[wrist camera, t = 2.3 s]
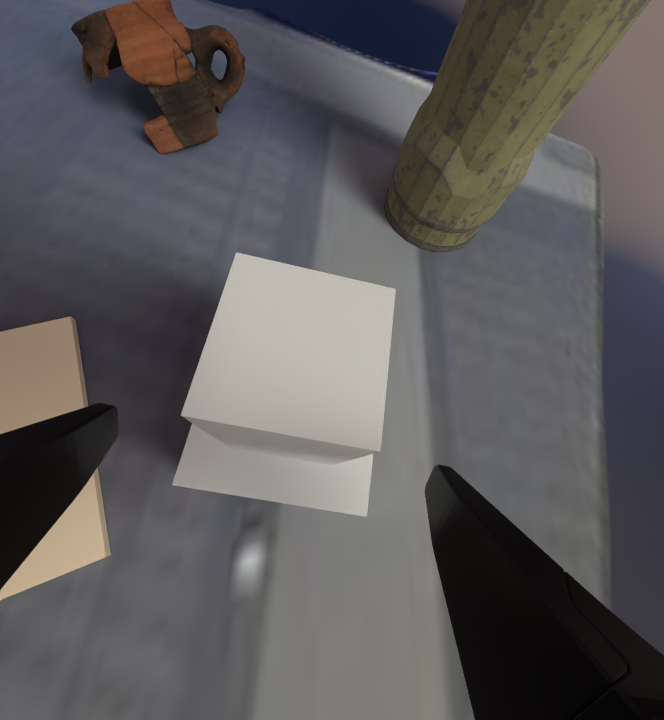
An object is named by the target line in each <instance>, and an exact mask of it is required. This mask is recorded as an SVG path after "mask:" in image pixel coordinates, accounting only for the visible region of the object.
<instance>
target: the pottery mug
mask: <svg viewBox="0 0 664 720" xmlns="http://www.w3.org/2000/svg"><path fill="white" fill-rule="evenodd" d="M71 30H72V31H73V33H74V34H75V35H76V36H77V38H78V39H79V41H80V43H81V45H82V46H83V57H82V60H83V69H84V72H85V77H86V81H87V82H88V83H91V82H92V71H93V73H94V74H95V75H96V76H97V77H100V78H103V79H107V78H109V70H112V69H114V68H116V67H119V66H123V69H124V71H126V72H127V74H128V75H129V76H130V78H132V79H133V80H134V81H135V82H138V83H140V84H145V85H146V86H147V89H148V91H149V92H150V93H151V95H152V96H153V97H154V99H155V101H156V102H157V104H158V105H159V107H160V108H161V110H162V112H163V114H162V115H160V116H159V117H158V118H155V119H153V120H151V121H148V122H144V123H143V129H144V131H145V133H146V134H147V136H148V137H149V138H150V139H151V141H152V143H153V145H154V146H155V148H156V149H157V151H158V152H159V153H160V154H163V153H170V152H173V151H177V150H179V149H183V148H186V147H189V146H192V145H198V144H200V143H203V142H206V141H207V140H210V139H211V138H213V137H214V136H216V135H217V134H218V130H217V124H216V113H215V111H216V112H218V113H221V112H222V109H223V105H224V104H225V102H226V101H227V100H229V99H230V98H231V97H233V96H234V95H235V94H236V93H237V92H238V90H239V88H240V86H241V84H242V80H243V77H244V73H245V65H244V62H245V57H244V56H243V55H242V54H241V52H240V50H239V48H238V42H237V40H236V39H235V38H234V36H233V35H232V34H231V33H230V32H229V31H228V30H226V29H225V28H222V27H220V26H214V25H210V26H206V27H202V28H200V29H189V28H186V27H185V26H184V24H183V23H181V22H179V21H178V20H177V19H176V16H175V14H174V11H173V8H172V4H171V2H170V0H135V1H133V2H132V3H124V4H121V5H117V6H114V7H112V8H108V9H107V10H101V11H98V12H95V13H93V14H90V15H88V16H86V17H84V18H82V19H80V20H79V21H77V22H76V23H74V24H73V26H72V28H71ZM217 50H221V51H222V52H223V53H224V54H225V55H226V58H227V67H226V71H225V74H224V77H223V79H221V80H219V79H217V78H216V77H215V75H214V73H213V72H212V70H211V63H212V59H213V55H214V53H215V51H217ZM190 52H192V53H193V55H194V57H195V60H196V63H195V68H196V69H195V68H194V66H193V65H192V63H191V61H190V60H189V58H188V57H187V56H186V55H187V54H190Z"/></svg>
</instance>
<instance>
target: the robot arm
mask: <svg viewBox="0 0 664 720" xmlns="http://www.w3.org/2000/svg"><path fill="white" fill-rule="evenodd" d="M118 432H119V428H118V412H117V408H116V407H115V406H113V405H108V404H103V403H97V404H94V405H91V406H88V407H84V408H81V409H78V410H75V411H72V412H69V413H65V414H62V415H59V416H56V417H53V418H50V419H46V420H43V421H40V422H37V423H34V424H31V425H27V426H24V427H21V428H18V429H15V430H12V431H8V432H5V433H2V434H0V590H1V589H2V588H3V586H4V585H5V584H6V583H7V581H8V580H9V579H10V578H11V577H12V575H13V574H14V573H15V572H16V570H17V569H18V568H19V567H20V566H21V564H22V563H23V562H24V561H25V559H26V558H27V557H28V556H29V555H30V553H31V552H32V551H33V550H34V548H35V547H36V546H37V545H38V544H39V542H40V541H41V540H42V539H43V537H44V536H45V535H46V534H47V533H48V531H49V530H50V529H51V528H52V526H53V525H54V524H55V523H56V522H57V520H58V519H59V518H60V517H61V515H62V514H63V513H64V512H65V511H66V509H67V508H68V507H69V506H70V504H71V503H72V502H73V501H74V500H75V498H76V497H77V496H78V494H79V493H80V492H81V491H82V489H83V488H84V486H85V485H86V484H87V482H88V481H89V479H90V478H91V476H92V475H93V473H94V472H95V470H96V469H97V467H98V466H99V464H100V463H101V461H102V460H103V458H104V457H105V455H106V454H107V452H108V451H109V449H110V448H111V446H112V445H113V443H114V442H115V440H116V438H117V436H118ZM425 497H426V504H427V511H428V519H429V526H430V533H431V539H432V545H433V550H434V554H435V559H436V563H437V567H438V571H439V575H440V579H441V583H442V587H443V591H444V595H445V599H446V603H447V608H448V612H449V616H450V620H451V624H452V628H453V632H454V636H455V640H456V644H457V648H458V652H459V657H460V661H461V665H462V669H463V673H464V677H465V681H466V685H467V689H468V693H469V697H470V701H471V706H472V710H473V714H474V718H475V720H664V655H663V654H661V653H660V652H659V651H658V650H656V649H655V648H654V647H653V646H652V645H650V644H649V643H648V642H647V641H646V640H644V639H643V638H642V637H641V636H640V635H638V634H637V633H636V632H635V631H633V630H632V629H631V628H630V627H629V626H628V625H626V624H625V623H624V622H622V620H621V619H619V618H618V617H617V616H616V615H615V614H613V613H612V612H611V611H610V610H609V609H607V608H606V607H605V606H604V605H603V604H602V603H601V602H600V601H598V600H597V599H596V598H595V597H594V596H593V595H592V594H590V593H589V592H588V591H587V590H586V589H585V588H584V587H583V586H581V585H580V584H579V583H578V582H577V581H576V580H575V579H574V578H573V577H572V576H570V575H569V574H568V573H567V572H564V570H563V568H562V567H560V566H559V565H558V564H557V563H556V562H555V561H554V560H553V559H552V558H550V557H549V556H548V555H547V554H546V553H545V552H544V551H543V550H542V549H541V548H539V547H538V546H537V545H536V544H535V543H534V542H533V541H532V540H531V539H529V538H528V537H527V536H526V535H525V534H524V533H523V532H522V531H521V530H520V529H518V528H517V527H516V526H515V525H514V524H513V523H512V522H511V521H510V520H508V519H507V518H506V517H505V516H504V515H503V514H502V513H501V512H500V511H499V510H497V509H496V508H495V507H494V506H493V505H492V504H491V503H490V502H489V501H487V500H486V499H485V498H484V497H483V496H482V495H481V494H480V493H479V492H478V491H476V490H475V489H474V488H473V487H472V486H471V485H470V484H469V483H468V482H466V481H465V480H464V479H463V478H462V477H461V476H460V475H459V474H458V473H457V472H455V471H454V470H453V469H452V468H451V467H449V466H443V465H436V466H435V467H434V468H433V470H432V472H431V475H430V477H429V479H428V481H427V483H426V486H425Z"/></svg>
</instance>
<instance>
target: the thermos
mask: <svg viewBox="0 0 664 720" xmlns="http://www.w3.org/2000/svg"><path fill="white" fill-rule="evenodd" d="M650 1H651V0H467V1H466V4H465V6H464V9H463V11H462V14H461V16H460V19H459V22H458V24H457V27H456V29H455V32H454V34H453V37H452V39H451V42H450V45H449V47H448V50H447V52H446V55H445V57H444V60H443V62H442V65H441V68H440V70H439V73H438V75H437V78H436V80H435V83H434V85H433V88H432V91H431V93H430V95H429V96H428V98H427V99H426V100H425V102H424V103H423V104H422V105H421V107H420V108H419V110H418V112H417V114H416V116H415V118H414V120H413V122H412V124H411V126H410V128H409V130H408V132H407V134H406V137H405V140H404V142H403V145H402V148H401V151H400V153H399V156H398V159H397V162H396V164H395V167H394V172H393V179H392V183H391V186H390V188H389V189H388V191H387V194H386V198H385V205H384V207H385V212H386V216H387V219H388V220H389V222H390V224H391V225H392V227H393V228H394V230H395V231H396V232H397V233H398V234H399V235H401V236H402V237H403V238H404V239H405V240H406V241H408V242H410V243H412V244H414V245H415V246H417V247H419V248H422V249H426V250H429V251H433V252H451V251H454V250H457V249H460V248H462V247H463V246H465V245H466V244H467V243H468V242H469V241H471V239H472V238H473V237H474V236H475V233H476V232H477V230H478V229H479V228H480V227H481V226H482V225H484V224H485V223H486V222H487V221H488V220H490V219H491V217H492V216H493V215H494V214H495V212H496V211H497V210H498V209H499V208H500V206H501V205H502V204H503V203H504V201H505V200H506V199H507V198H508V196H509V195H510V194H511V193H512V191H513V190H514V189H515V188H516V186H517V185H518V184H519V183H520V182H521V180H522V179H523V178H524V177H525V175H526V173H527V170H528V167H529V165H530V162H531V160H532V157H533V155H534V152H535V149H536V148H537V147H538V146H539V144H540V143H541V142H542V140H543V139H544V138H545V137H546V135H547V134H548V133H549V131H550V130H551V129H552V128H553V126H554V125H555V124H556V122H557V121H558V120H559V118H560V117H561V116H562V115H563V113H564V112H565V111H566V109H567V108H568V107H569V106H570V104H571V103H572V102H573V100H574V99H575V98H576V97H577V95H578V94H579V93H580V91H581V90H582V89H583V87H584V86H585V84H587V82H588V81H589V80H590V78H591V77H592V75H594V73H595V72H596V70H597V69H598V68H599V67H600V65H601V64H602V63H603V62H604V60H605V59H606V57H608V55H609V54H610V53H611V51H612V50H613V49H614V47H615V46H616V45H617V44H618V42H619V41H620V40H621V38H622V37H623V36H624V35H625V33H626V32H627V31H628V29H629V28H630V27H631V25H632V24H633V23H634V22H635V20H636V19H637V18H638V16H639V15H640V14H641V13H642V11H643V10H644V9H645V7H646V6H647V5H648V4H649V2H650Z"/></svg>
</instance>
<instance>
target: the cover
mask: <svg viewBox="0 0 664 720" xmlns="http://www.w3.org/2000/svg"><path fill="white" fill-rule="evenodd" d="M395 292H396V289H393V288H389V287H385V286H380V285H376V284H371V283H367V282H363V281H358V280H354V279H350V278H345V277H341V276H337V275H332V274H328V273H324V272H319V271H315V270H310V269H306V268H302V267H297V266H293V265H289V264H284V263H280V262H276V261H271V260H267V259H263V258H258V257H254V256H250V255H245V254H241V253H236V255H235V258H234V261H233V264H232V267H231V270H230V273H229V276H228V279H227V281H226V284H225V287H224V290H223V293H222V296H221V299H220V302H219V305H218V308H217V311H216V314H215V317H214V319H213V322H212V325H211V328H210V331H209V334H208V337H207V340H206V343H205V346H204V349H203V352H202V354H201V357H200V360H199V363H198V366H197V369H196V372H195V375H194V378H193V381H192V384H191V387H190V390H189V392H188V395H187V398H186V401H185V404H184V407H183V410H182V413H181V416H182V417H184V418H185V419H187V420H188V421H190V422H191V423H192V425H191V428H190V432H189V435H188V438H187V441H186V444H185V447H184V450H183V453H182V456H181V459H180V462H179V465H178V468H177V472H176V475H175V478H174V481H173V484H172V485H174V486H180V487H186V488H193V489H199V490H205V491H211V492H217V493H223V494H230V495H236V496H242V497H248V498H254V499H260V500H267V501H273V502H279V503H285V504H291V505H297V506H303V507H310V508H316V509H322V510H328V511H334V512H340V513H347V514H353V515H359V516H365V517H367V510H368V500H369V490H370V480H371V470H372V461H373V454H374V453H378V452H381V441H382V430H383V420H384V409H385V398H386V388H387V377H388V366H389V356H390V345H391V334H392V324H393V313H394V302H395Z"/></svg>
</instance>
